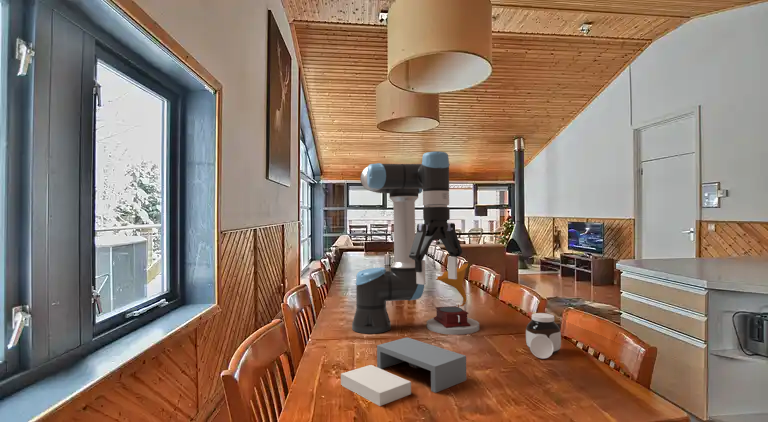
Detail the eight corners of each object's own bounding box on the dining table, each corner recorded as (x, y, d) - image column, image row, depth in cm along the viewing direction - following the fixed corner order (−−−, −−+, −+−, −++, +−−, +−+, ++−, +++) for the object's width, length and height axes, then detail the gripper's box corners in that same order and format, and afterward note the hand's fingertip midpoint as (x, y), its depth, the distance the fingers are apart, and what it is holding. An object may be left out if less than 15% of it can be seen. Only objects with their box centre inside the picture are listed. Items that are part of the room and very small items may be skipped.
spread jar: (551, 347, 139) (550, 311, 139) (571, 358, 128) (571, 320, 128) (517, 349, 137) (516, 313, 137) (535, 361, 126) (535, 322, 126)
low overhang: (377, 367, 122) (376, 345, 122) (407, 358, 129) (407, 337, 129) (435, 392, 104) (435, 366, 104) (466, 380, 112) (466, 355, 112)
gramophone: (466, 319, 177) (465, 260, 177) (488, 332, 157) (487, 265, 157) (420, 322, 173) (419, 262, 173) (436, 336, 153) (435, 267, 153)
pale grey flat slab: (340, 385, 109) (340, 373, 109) (371, 375, 116) (371, 364, 116) (379, 406, 97) (379, 393, 97) (411, 394, 103) (410, 381, 103)
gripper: (415, 205, 108) (416, 288, 108) (473, 206, 125) (474, 278, 124) (395, 206, 114) (396, 284, 113) (453, 207, 130) (454, 275, 130)
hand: (437, 281), depth 119 cm, fingers open, 13 cm apart
